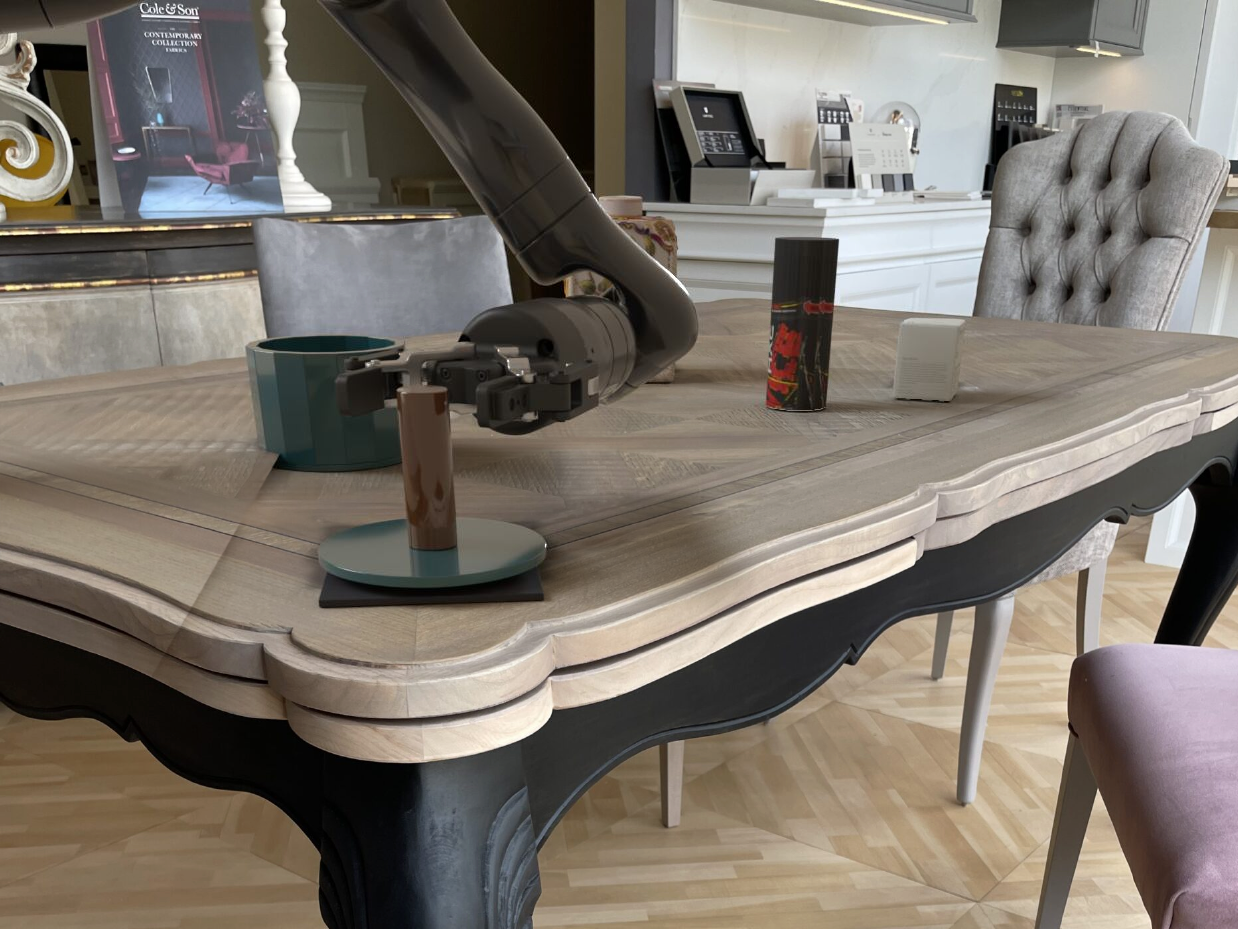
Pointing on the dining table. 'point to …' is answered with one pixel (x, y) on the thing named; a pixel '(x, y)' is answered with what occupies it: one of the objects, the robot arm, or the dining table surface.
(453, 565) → the lid
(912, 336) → the product box
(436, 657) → the dining table surface
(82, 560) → the dining table surface
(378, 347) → the canister
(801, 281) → the deodorant
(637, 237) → the decorative jar
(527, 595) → the mat
